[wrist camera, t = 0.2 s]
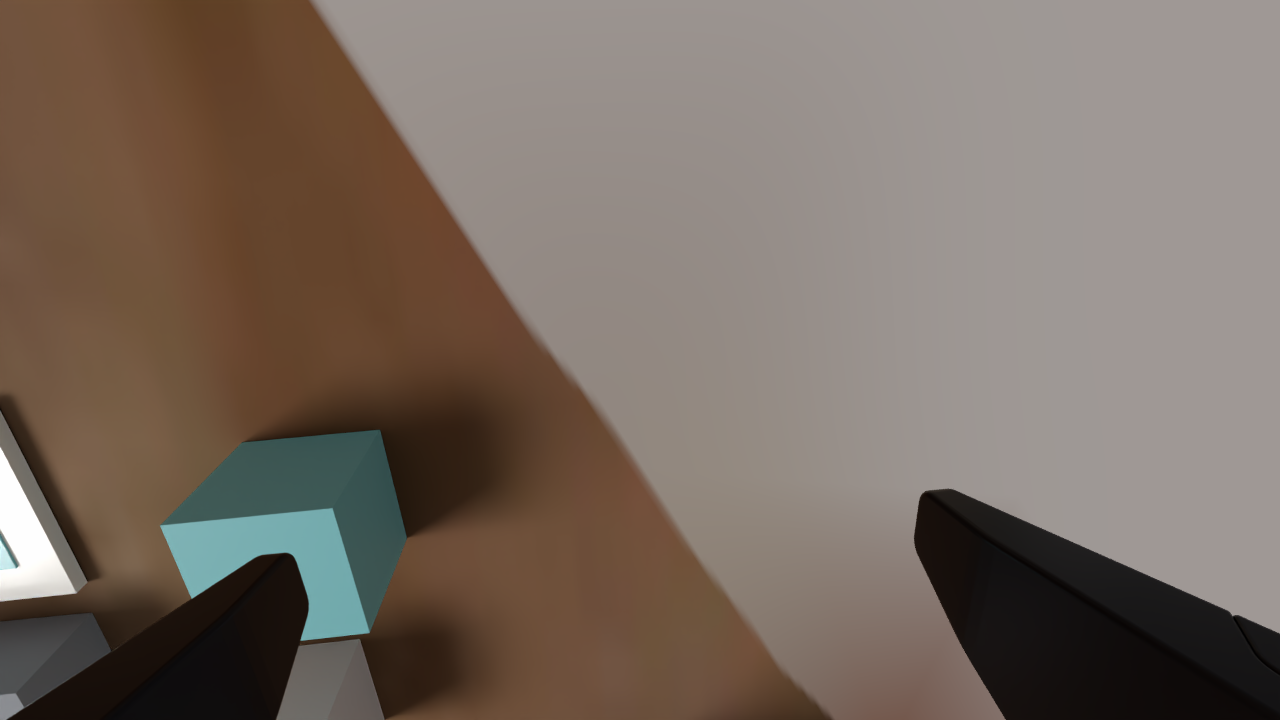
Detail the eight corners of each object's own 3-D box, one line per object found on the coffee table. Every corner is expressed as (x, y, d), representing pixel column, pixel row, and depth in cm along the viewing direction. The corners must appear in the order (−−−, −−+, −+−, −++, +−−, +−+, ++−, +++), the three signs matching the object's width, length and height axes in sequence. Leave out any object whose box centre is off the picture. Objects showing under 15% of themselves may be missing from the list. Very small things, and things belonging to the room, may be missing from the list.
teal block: (407, 536, 25) (369, 632, 21) (280, 550, 25) (213, 650, 21) (380, 428, 24) (332, 508, 19) (242, 441, 23) (160, 525, 19)
